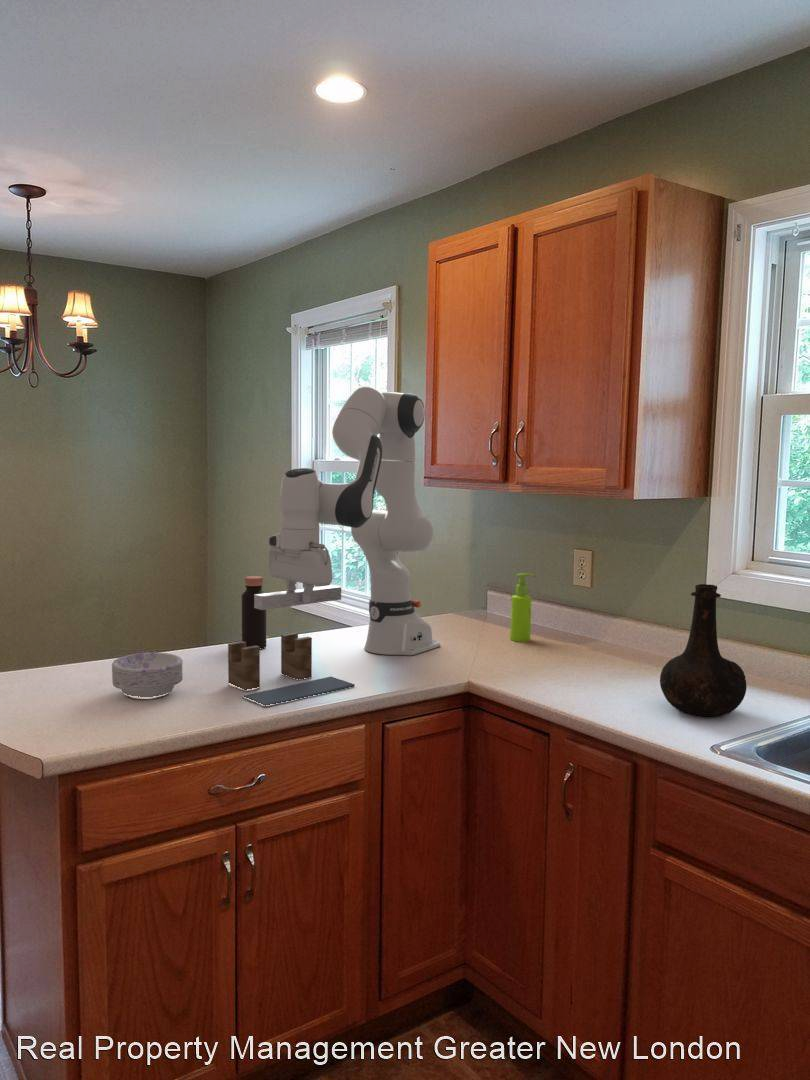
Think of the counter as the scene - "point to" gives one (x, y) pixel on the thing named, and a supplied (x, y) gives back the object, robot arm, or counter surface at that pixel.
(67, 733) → the counter surface
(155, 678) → the paper bowls
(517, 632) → the soap dispenser
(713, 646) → the glass bottle
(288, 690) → the mat
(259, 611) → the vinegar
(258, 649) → the cradles
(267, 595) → the rail
